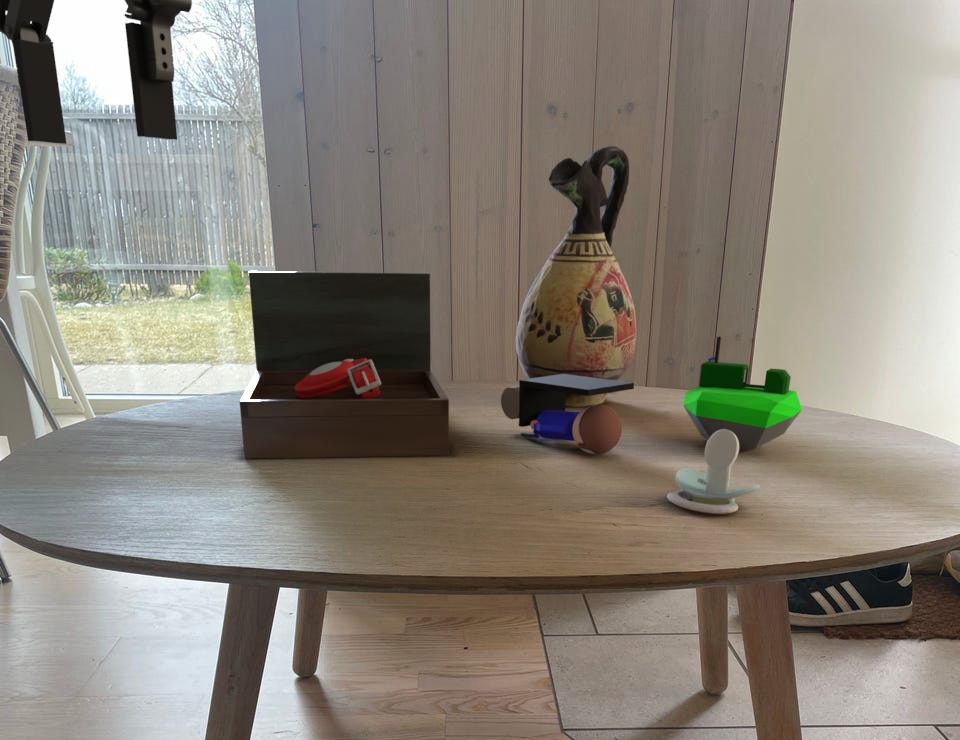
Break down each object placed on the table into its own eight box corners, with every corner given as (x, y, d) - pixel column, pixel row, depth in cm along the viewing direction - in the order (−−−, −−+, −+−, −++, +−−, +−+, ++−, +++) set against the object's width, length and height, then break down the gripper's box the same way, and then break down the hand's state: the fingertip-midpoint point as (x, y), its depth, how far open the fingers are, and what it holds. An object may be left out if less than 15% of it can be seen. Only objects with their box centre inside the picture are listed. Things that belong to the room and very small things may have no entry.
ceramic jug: (577, 416, 112) (593, 137, 100) (490, 398, 123) (495, 143, 110) (662, 401, 123) (687, 147, 110) (576, 386, 133) (590, 152, 121)
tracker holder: (273, 387, 97) (322, 353, 104) (289, 426, 99) (337, 390, 107) (365, 368, 91) (411, 334, 98) (381, 411, 93) (425, 374, 101)
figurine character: (497, 448, 102) (588, 460, 90) (494, 377, 100) (587, 380, 88) (544, 441, 106) (637, 452, 94) (542, 373, 103) (638, 375, 92)
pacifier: (722, 524, 73) (765, 509, 77) (730, 446, 70) (775, 433, 74) (650, 504, 78) (694, 490, 82) (655, 430, 75) (701, 419, 79)
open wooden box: (448, 455, 93) (449, 285, 86) (244, 458, 90) (228, 283, 83) (430, 415, 112) (429, 273, 105) (261, 416, 109) (249, 271, 102)
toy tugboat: (666, 451, 96) (677, 341, 91) (697, 431, 105) (708, 330, 101) (784, 466, 91) (802, 350, 86) (805, 444, 100) (822, 338, 96)
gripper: (230, -265, 55) (255, 141, 63) (5, -179, 68) (51, 147, 77) (118, -323, 49) (162, 130, 58) (-103, -217, 62) (-40, 139, 71)
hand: (99, 141), depth 67 cm, fingers open, 13 cm apart
